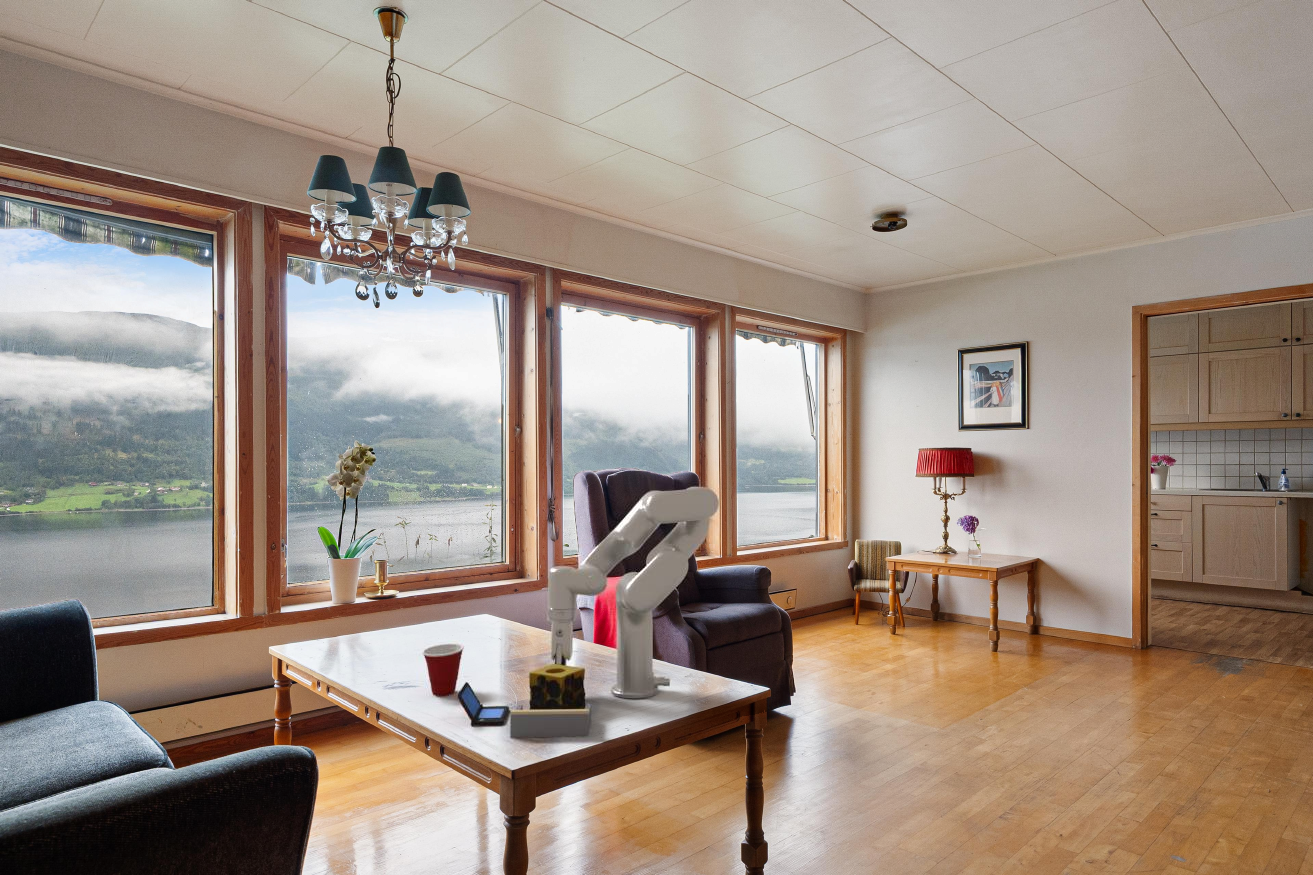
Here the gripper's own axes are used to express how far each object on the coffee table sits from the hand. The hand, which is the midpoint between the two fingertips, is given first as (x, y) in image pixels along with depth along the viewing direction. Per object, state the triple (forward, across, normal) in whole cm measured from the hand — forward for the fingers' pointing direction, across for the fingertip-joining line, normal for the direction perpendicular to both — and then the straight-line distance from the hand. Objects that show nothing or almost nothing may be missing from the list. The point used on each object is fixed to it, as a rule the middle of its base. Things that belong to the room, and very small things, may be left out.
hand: (560, 684), depth 200 cm
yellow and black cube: (+3, -11, -1) cm, 12 cm away
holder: (+3, -25, -1) cm, 26 cm away
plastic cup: (+4, +5, +31) cm, 32 cm away
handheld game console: (+4, -16, +17) cm, 24 cm away
